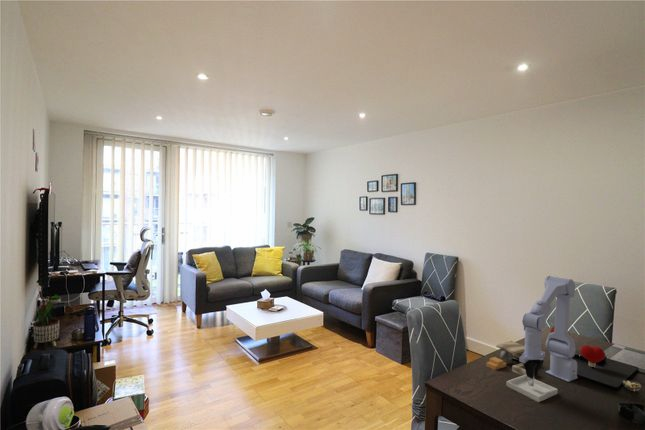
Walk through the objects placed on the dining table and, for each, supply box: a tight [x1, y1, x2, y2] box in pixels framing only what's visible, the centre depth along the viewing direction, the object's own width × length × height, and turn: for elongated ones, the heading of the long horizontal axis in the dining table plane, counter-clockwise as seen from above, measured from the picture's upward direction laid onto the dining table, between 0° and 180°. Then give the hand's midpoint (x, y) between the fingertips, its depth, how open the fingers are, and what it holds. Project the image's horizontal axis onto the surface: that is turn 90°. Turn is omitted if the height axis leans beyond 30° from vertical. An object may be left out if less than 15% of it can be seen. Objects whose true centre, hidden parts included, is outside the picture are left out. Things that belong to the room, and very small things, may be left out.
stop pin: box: [528, 371, 535, 386], centre depth 138 cm, size 2×2×6 cm
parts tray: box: [505, 375, 559, 403], centre depth 138 cm, size 13×13×2 cm
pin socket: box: [511, 362, 527, 376], centre depth 153 cm, size 7×7×2 cm
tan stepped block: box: [485, 356, 507, 371], centre depth 159 cm, size 8×4×4 cm, turn 117°
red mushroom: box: [580, 344, 606, 368], centre depth 160 cm, size 9×7×10 cm
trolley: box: [496, 340, 525, 365], centre depth 164 cm, size 9×14×7 cm, turn 118°
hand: (531, 376), depth 138 cm, fingers closed on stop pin, 2 cm apart
